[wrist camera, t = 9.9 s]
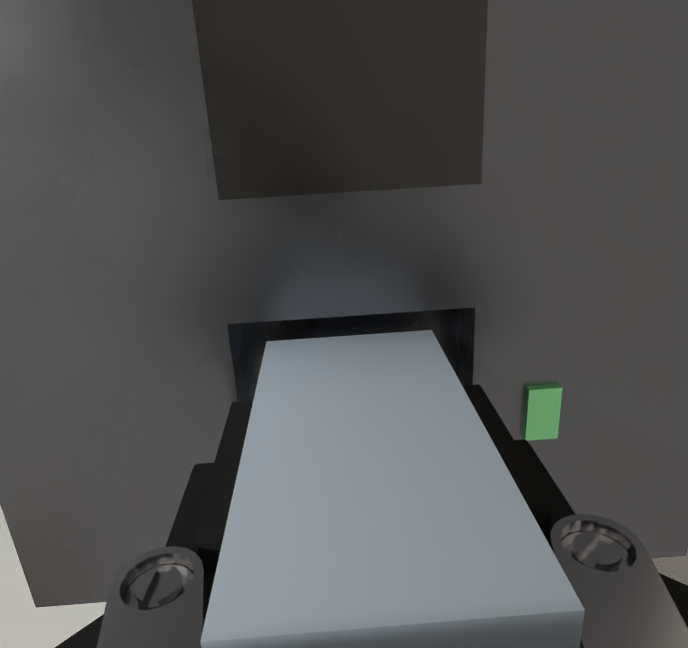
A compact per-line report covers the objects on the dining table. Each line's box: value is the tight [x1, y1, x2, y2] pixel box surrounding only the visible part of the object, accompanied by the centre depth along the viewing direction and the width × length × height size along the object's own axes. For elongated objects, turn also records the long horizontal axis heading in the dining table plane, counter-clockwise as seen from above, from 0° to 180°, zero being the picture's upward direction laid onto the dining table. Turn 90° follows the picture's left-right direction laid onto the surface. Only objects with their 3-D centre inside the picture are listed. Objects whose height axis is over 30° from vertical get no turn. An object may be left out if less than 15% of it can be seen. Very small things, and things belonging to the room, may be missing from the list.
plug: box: [200, 330, 585, 648], centre depth 10 cm, size 4×4×9 cm
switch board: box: [0, 0, 688, 607], centre depth 10 cm, size 26×18×4 cm
